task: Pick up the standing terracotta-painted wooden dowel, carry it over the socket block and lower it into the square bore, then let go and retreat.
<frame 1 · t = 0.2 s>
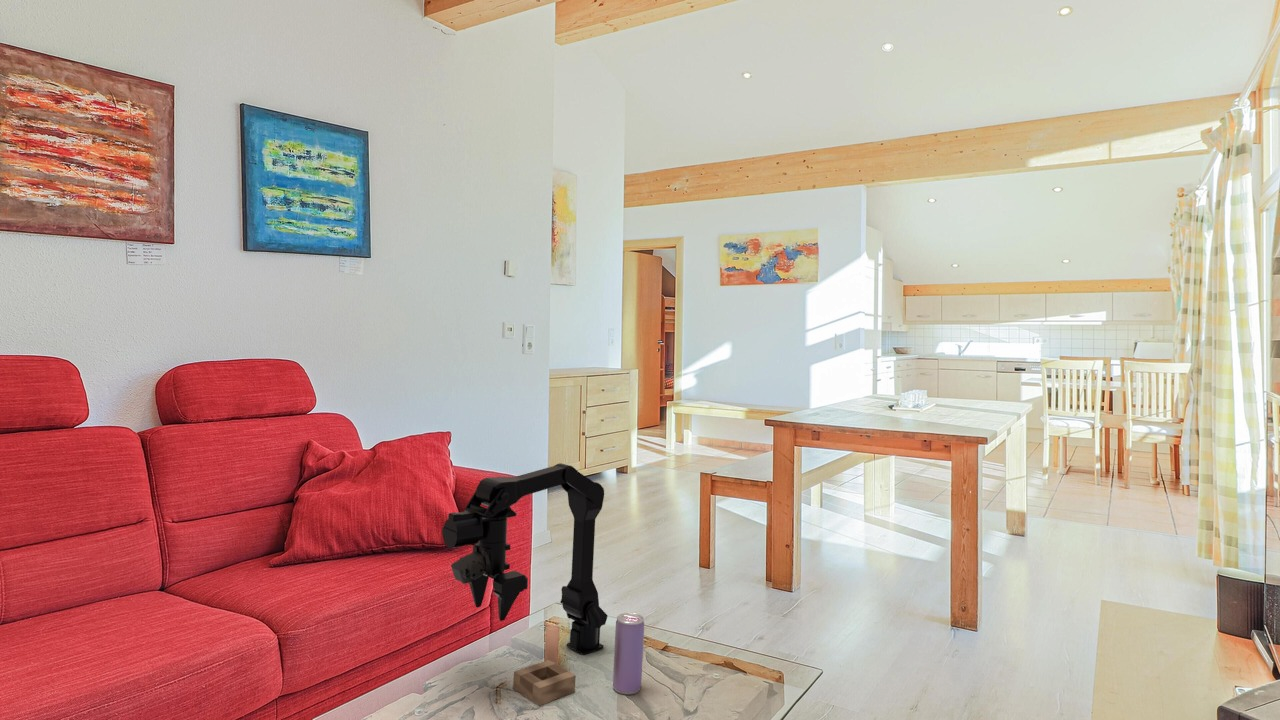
hand: (489, 613, 151), 14 cm above the table, fingers open, 9 cm apart
socket: (543, 690, 149), on the table
peg: (550, 668, 159), on the table
beverage can: (626, 689, 151), on the table
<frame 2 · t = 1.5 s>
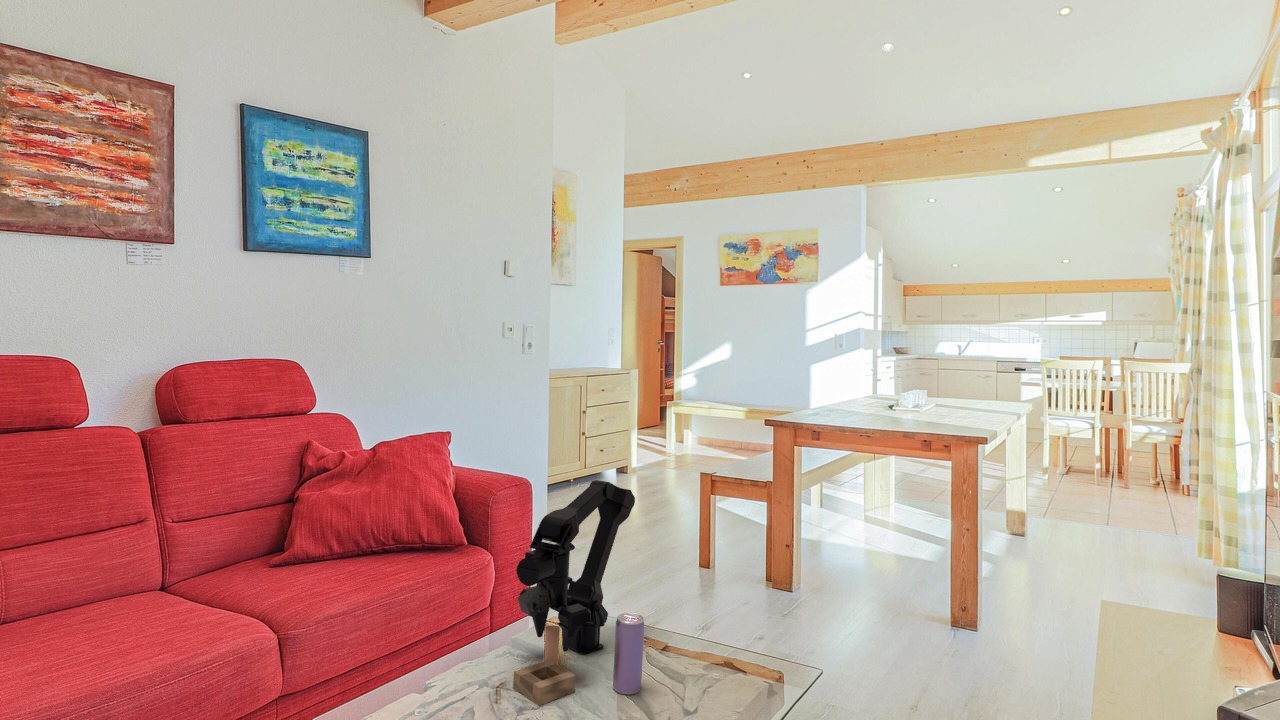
hand: (552, 643, 159), 5 cm above the table, fingers open, 9 cm apart
nothing on the table moved.
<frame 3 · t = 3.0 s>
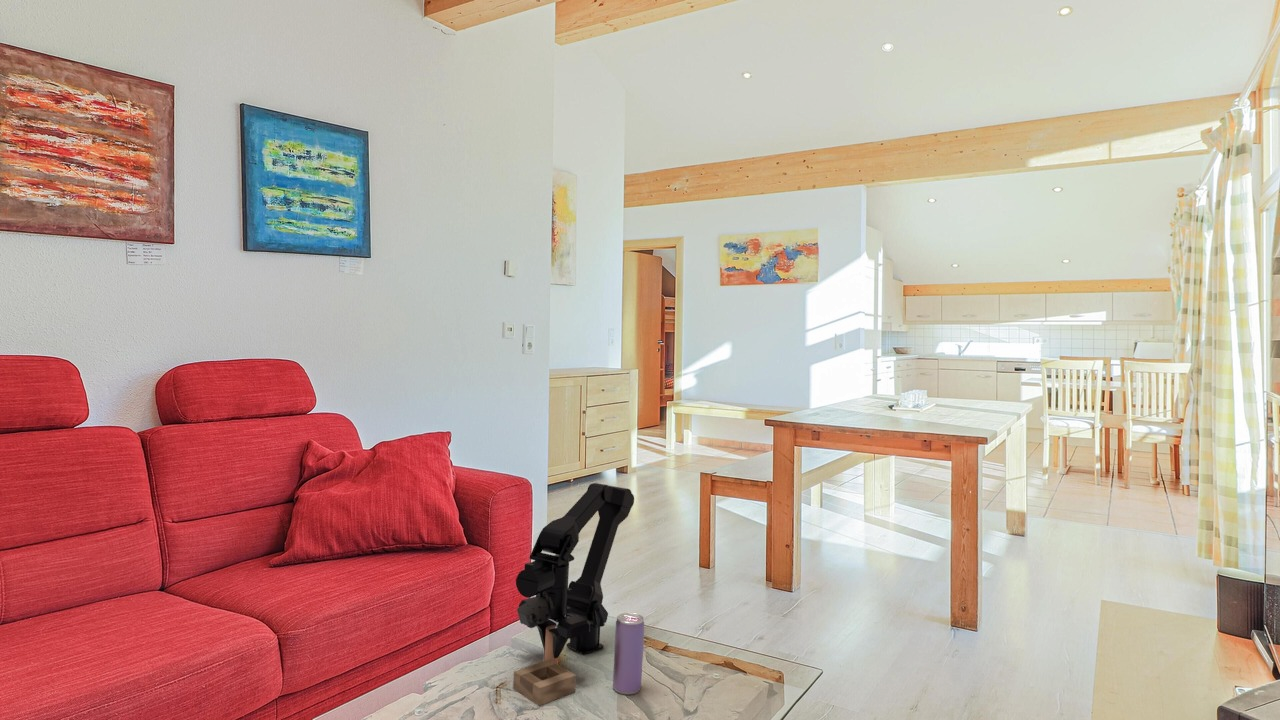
hand: (551, 655, 159), 3 cm above the table, fingers closed on peg, 3 cm apart
peg: (550, 668, 159), on the table, touching gripper
everything else where it was.
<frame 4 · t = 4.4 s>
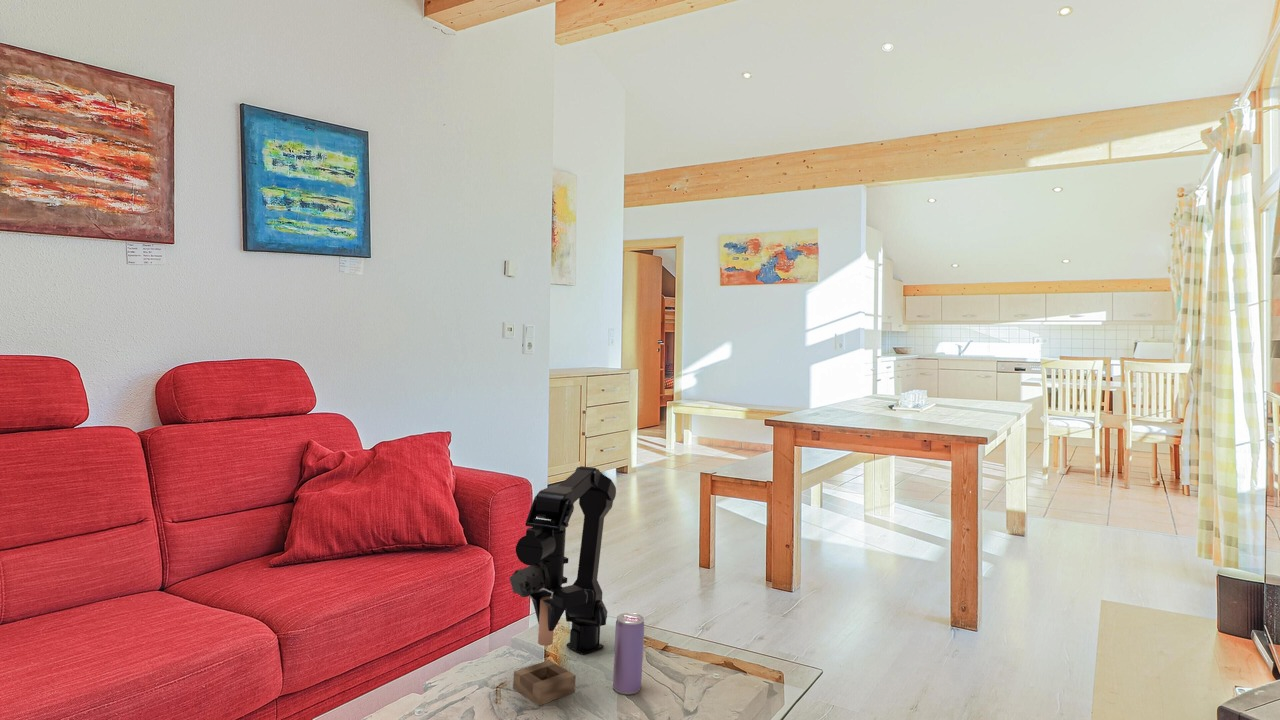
hand: (546, 628, 149), 13 cm above the table, fingers closed on peg, 3 cm apart
peg: (545, 642, 149), point 10 cm above the table, touching gripper
everything else where it was.
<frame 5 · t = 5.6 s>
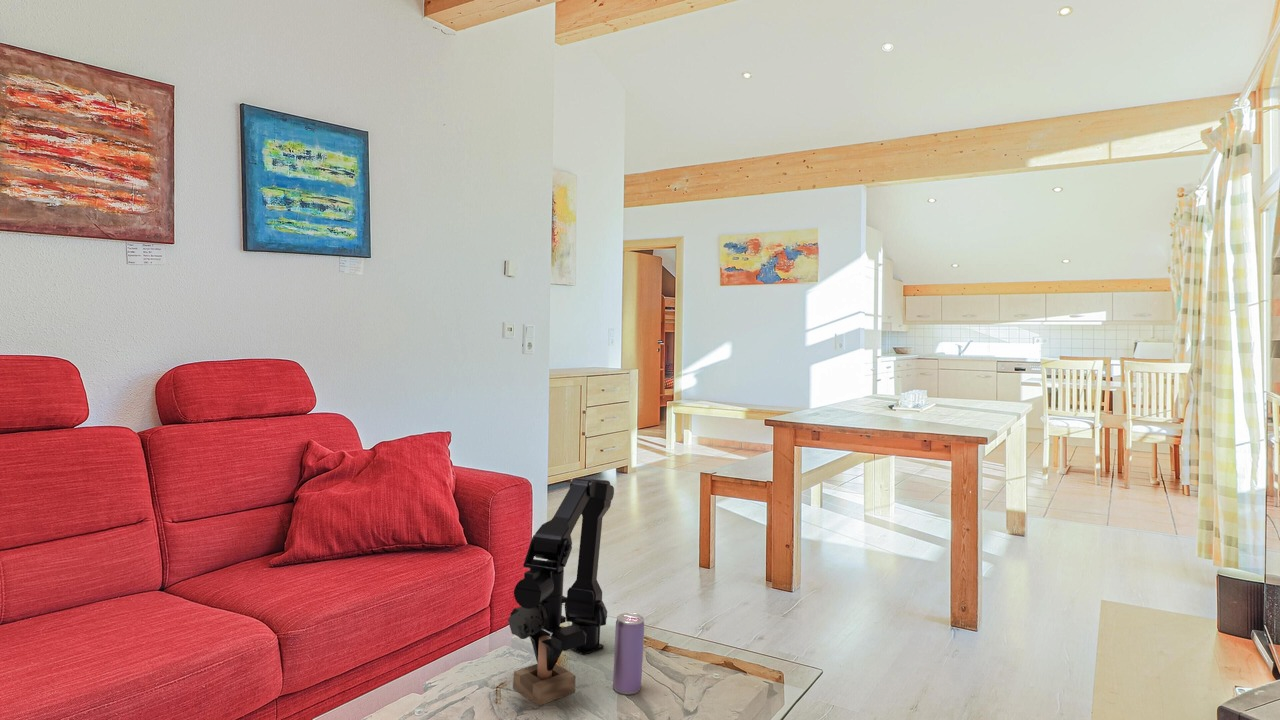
hand: (545, 667, 149), 5 cm above the table, fingers closed on peg, 3 cm apart
peg: (544, 681, 149), point 2 cm above the table, touching gripper
everything else where it was.
when the fingers open (4 cm above the table, at t = 6.2 s): peg drops 2 cm, resting in socket.
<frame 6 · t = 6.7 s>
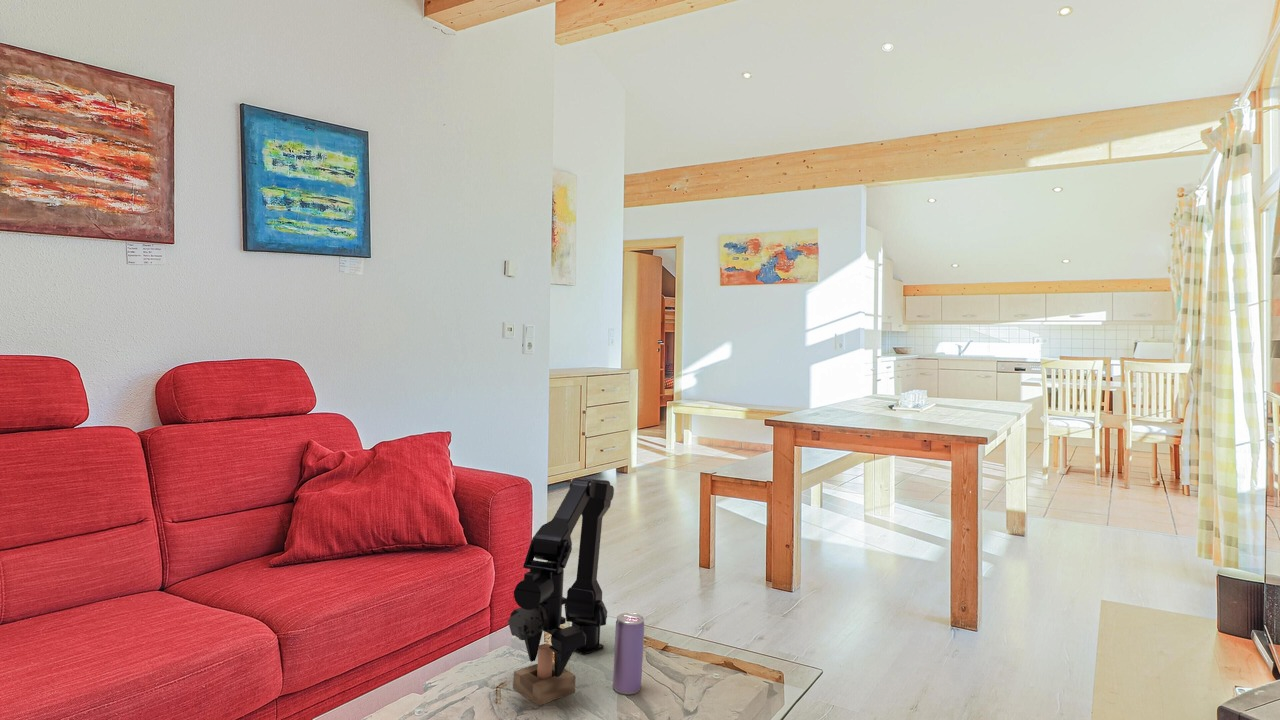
hand: (545, 668, 149), 4 cm above the table, fingers open, 8 cm apart
peg: (543, 690, 149), resting in socket
everything else where it was.
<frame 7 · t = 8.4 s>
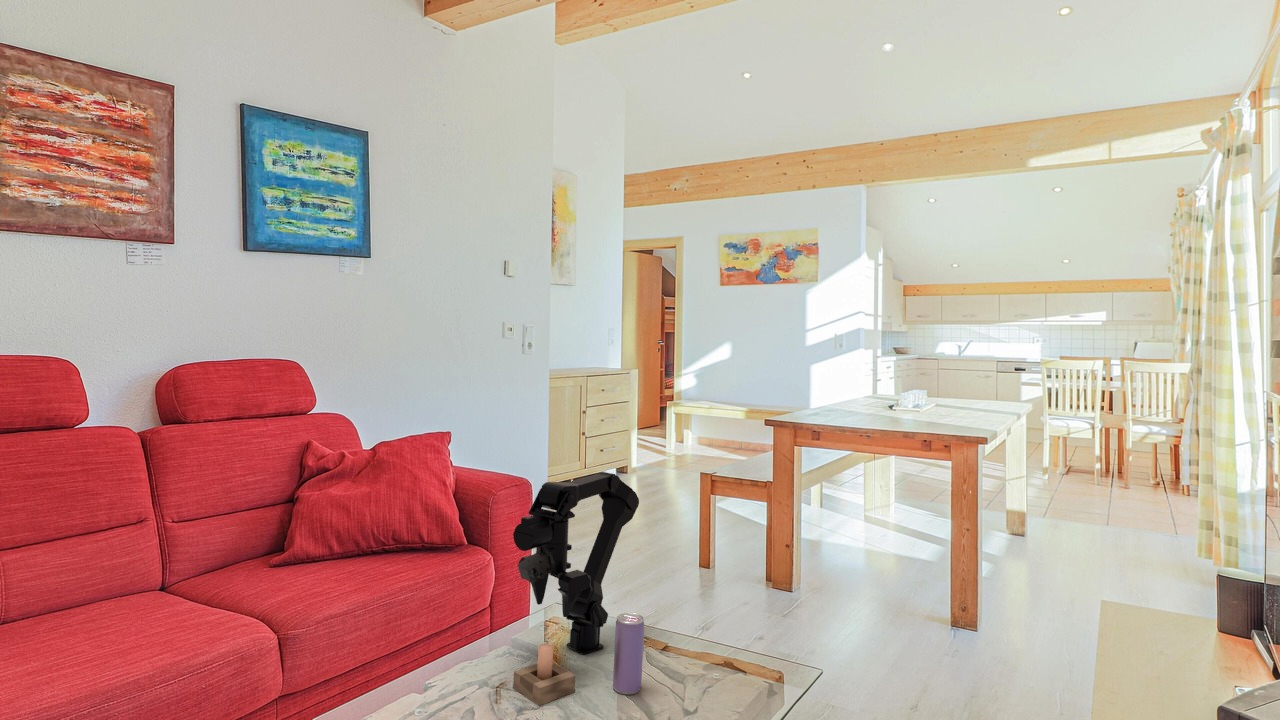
hand: (552, 610, 160), 12 cm above the table, fingers open, 9 cm apart
nothing on the table moved.
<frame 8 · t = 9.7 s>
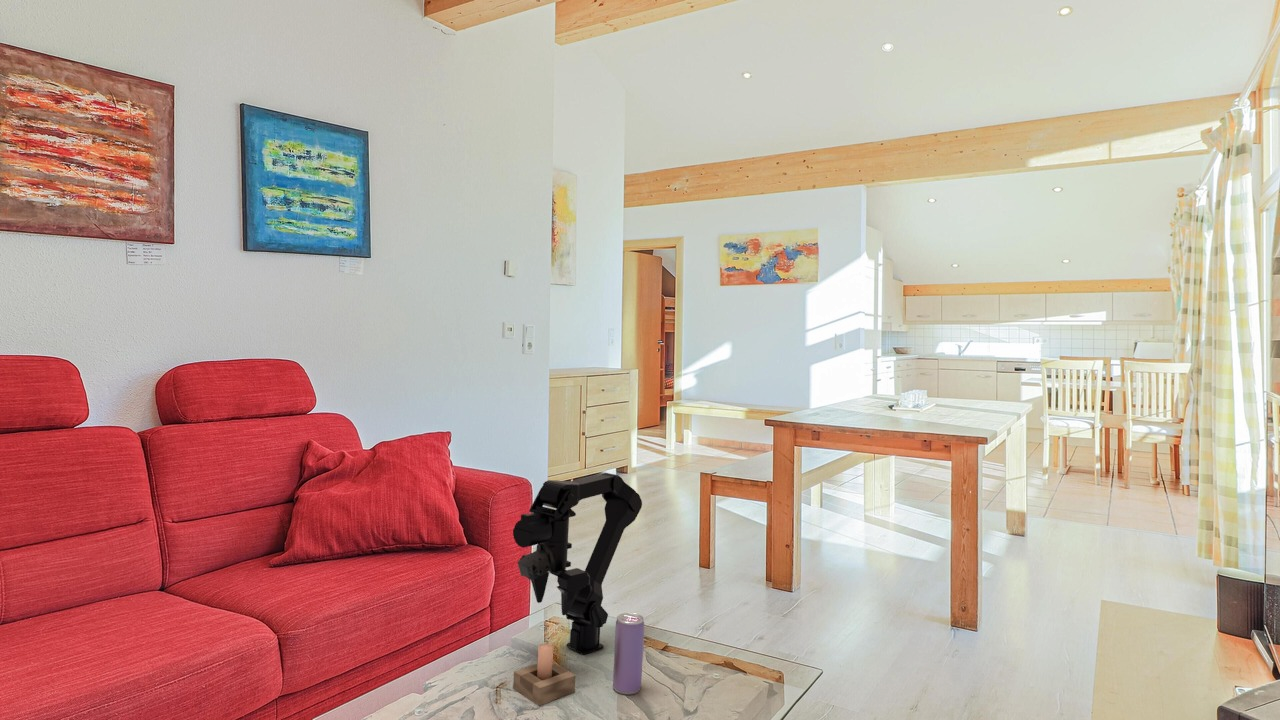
hand: (551, 608, 160), 13 cm above the table, fingers open, 9 cm apart
nothing on the table moved.
at the end: peg 0.0 cm off-centre on the socket, point 0.0 cm above the socket's base; peg tilted 0°; the gripper is holding nothing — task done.
